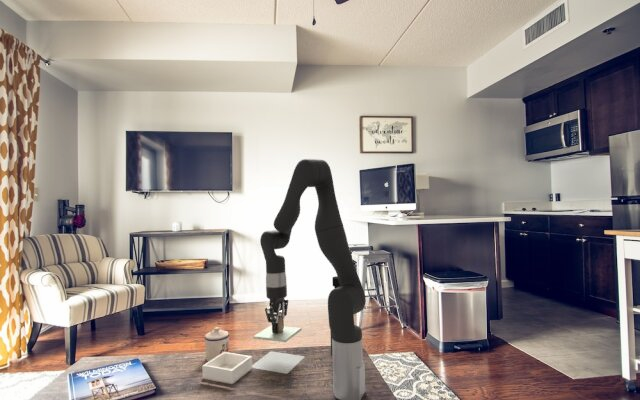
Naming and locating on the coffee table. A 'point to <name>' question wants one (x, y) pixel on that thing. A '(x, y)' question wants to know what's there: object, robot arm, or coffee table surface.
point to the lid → (282, 333)
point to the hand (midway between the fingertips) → (278, 330)
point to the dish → (227, 367)
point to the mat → (278, 362)
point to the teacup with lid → (216, 343)
